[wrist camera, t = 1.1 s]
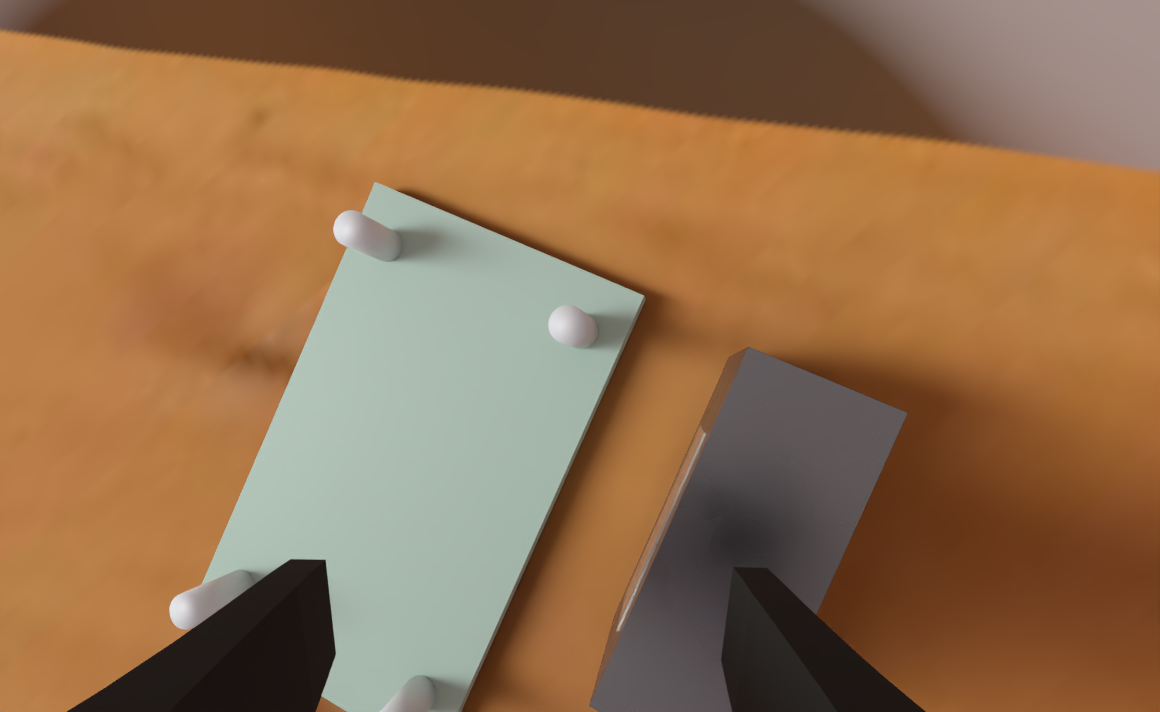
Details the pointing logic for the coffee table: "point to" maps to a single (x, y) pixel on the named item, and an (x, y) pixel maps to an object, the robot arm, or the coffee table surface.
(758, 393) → the block
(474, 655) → the pin tray
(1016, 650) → the coffee table surface
